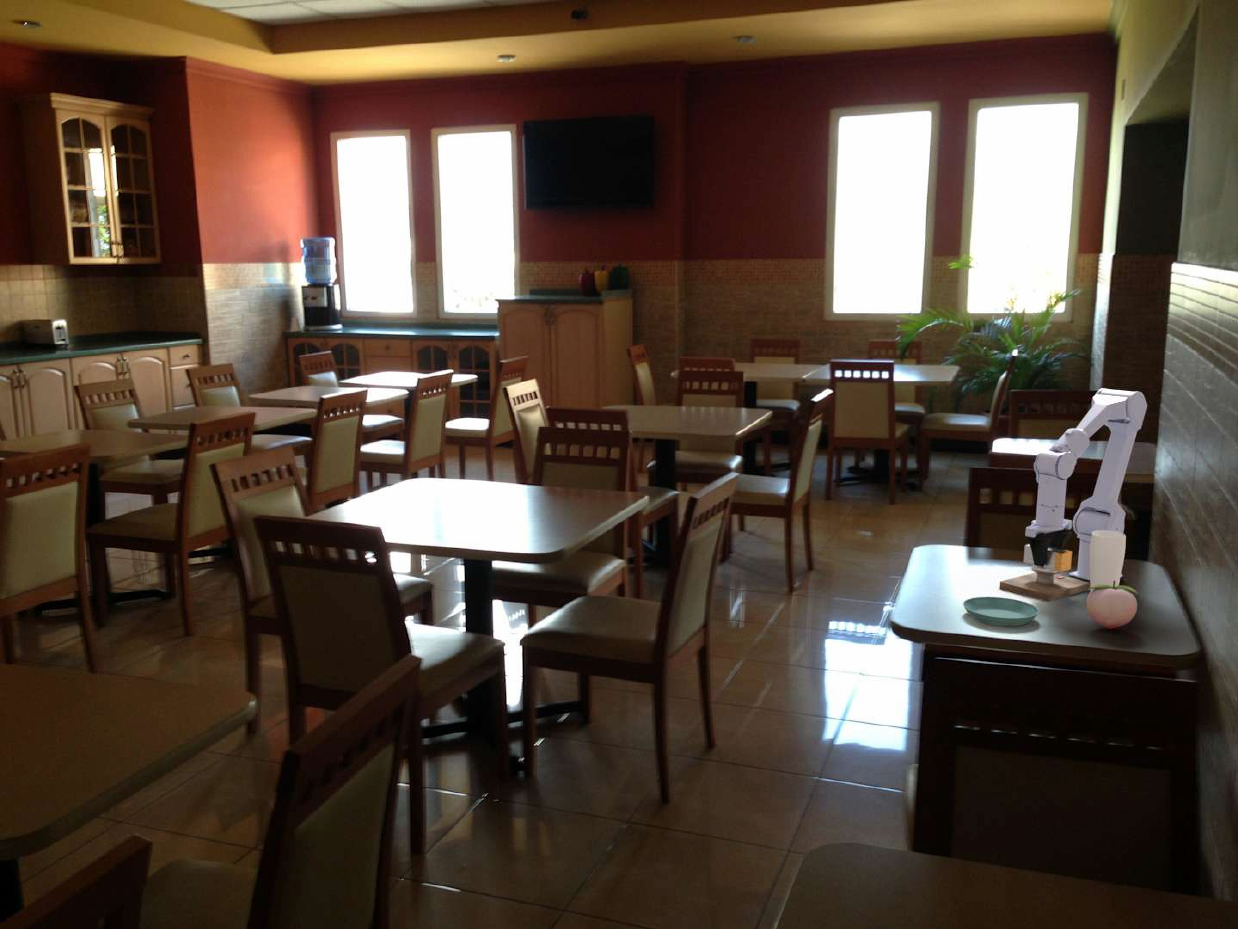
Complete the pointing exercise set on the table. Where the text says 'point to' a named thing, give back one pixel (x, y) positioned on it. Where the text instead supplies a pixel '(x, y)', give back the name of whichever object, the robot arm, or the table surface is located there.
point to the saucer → (1000, 611)
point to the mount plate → (1044, 586)
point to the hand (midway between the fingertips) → (1046, 563)
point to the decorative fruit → (1111, 604)
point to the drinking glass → (1106, 557)
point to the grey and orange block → (1050, 560)
